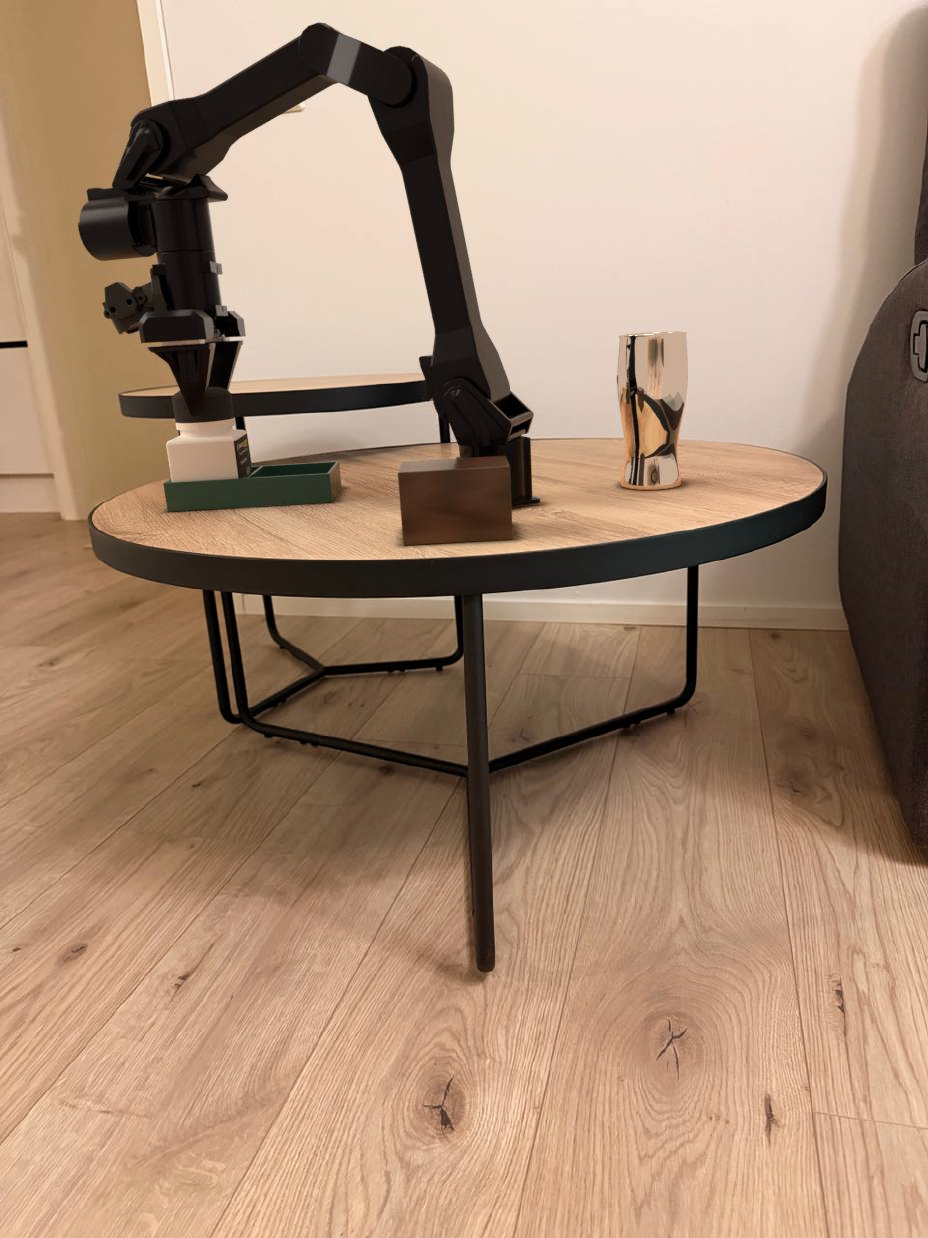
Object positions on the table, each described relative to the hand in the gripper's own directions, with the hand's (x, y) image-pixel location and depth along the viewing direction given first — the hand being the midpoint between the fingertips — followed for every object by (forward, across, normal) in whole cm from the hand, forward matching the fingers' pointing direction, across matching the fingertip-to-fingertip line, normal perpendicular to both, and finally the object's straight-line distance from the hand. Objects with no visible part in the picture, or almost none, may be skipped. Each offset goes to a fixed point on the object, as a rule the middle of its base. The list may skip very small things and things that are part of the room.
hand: (208, 411), depth 97 cm
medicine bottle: (+10, 0, 0) cm, 10 cm away
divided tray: (+10, 0, +4) cm, 10 cm away
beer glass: (+10, +5, +46) cm, 47 cm away
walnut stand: (+10, +23, +26) cm, 36 cm away
